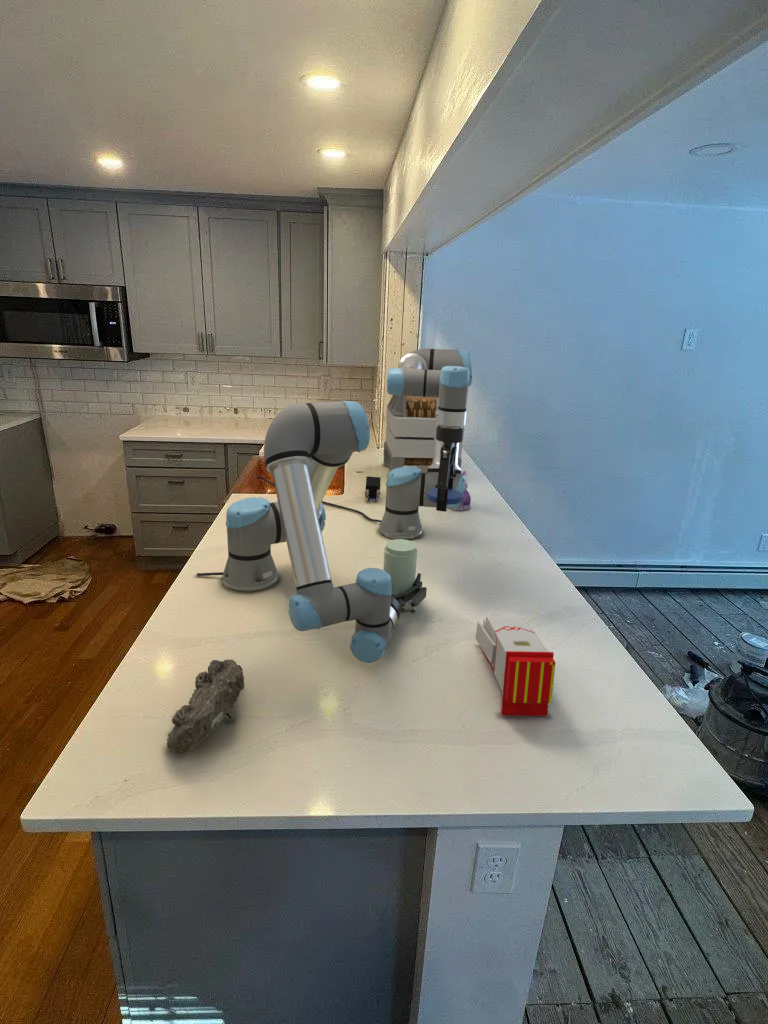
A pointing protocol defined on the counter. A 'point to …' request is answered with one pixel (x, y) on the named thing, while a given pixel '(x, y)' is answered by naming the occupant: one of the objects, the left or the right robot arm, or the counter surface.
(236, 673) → the fossil
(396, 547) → the jar
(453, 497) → the lid
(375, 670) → the counter surface
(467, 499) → the figurine
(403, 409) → the grey boxy piece
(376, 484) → the figurine character
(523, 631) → the toy
